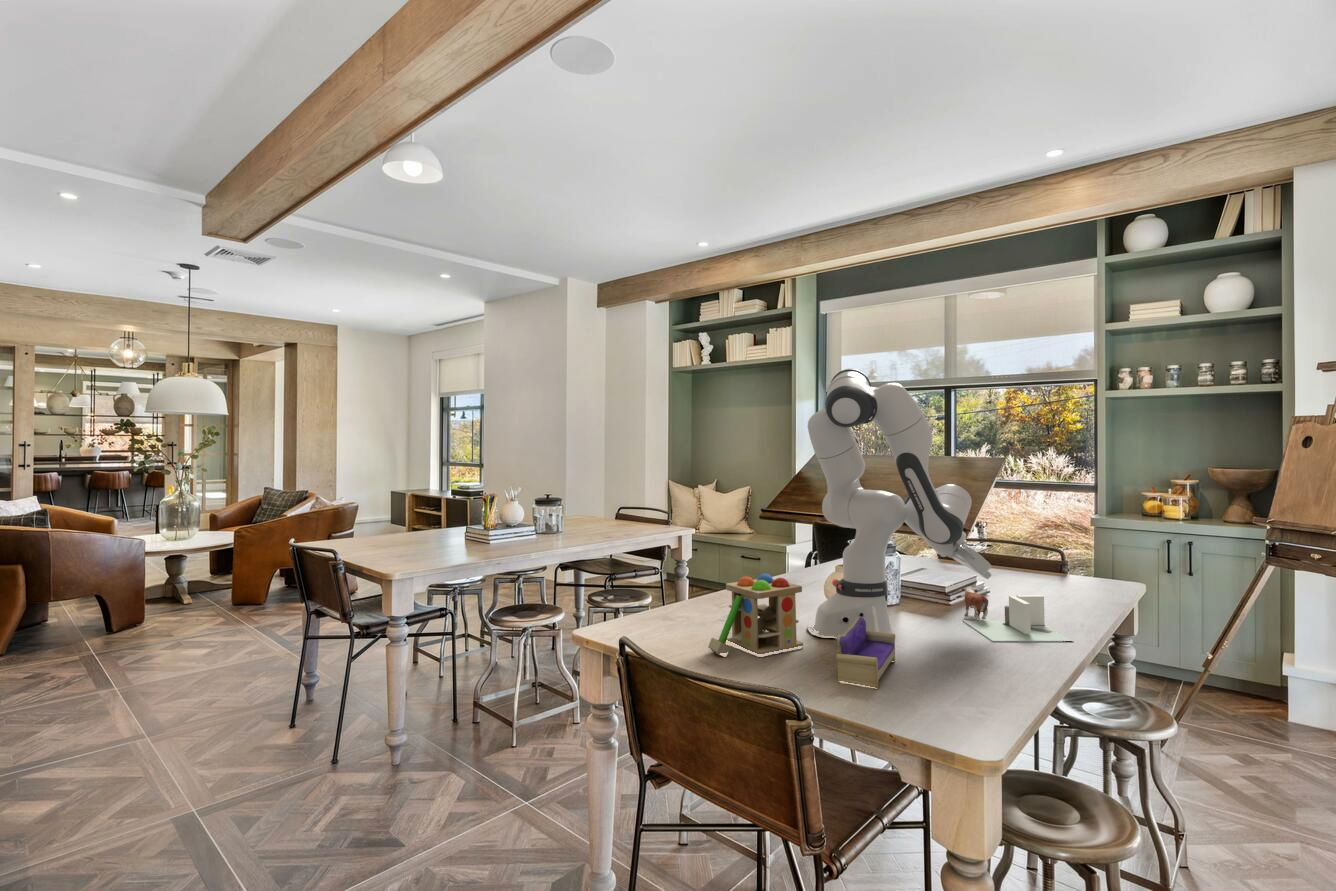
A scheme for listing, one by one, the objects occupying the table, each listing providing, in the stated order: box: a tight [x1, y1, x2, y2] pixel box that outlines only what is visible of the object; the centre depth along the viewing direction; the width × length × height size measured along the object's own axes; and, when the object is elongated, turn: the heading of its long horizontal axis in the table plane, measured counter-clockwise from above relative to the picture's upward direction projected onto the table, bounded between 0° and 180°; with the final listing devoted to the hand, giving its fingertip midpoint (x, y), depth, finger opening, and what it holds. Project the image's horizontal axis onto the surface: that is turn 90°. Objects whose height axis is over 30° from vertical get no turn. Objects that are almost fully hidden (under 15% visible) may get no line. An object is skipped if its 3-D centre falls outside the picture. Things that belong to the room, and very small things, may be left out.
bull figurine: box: [961, 586, 989, 621], centre depth 193 cm, size 4×13×8 cm, turn 174°
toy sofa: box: [835, 617, 896, 689], centre depth 148 cm, size 21×9×10 cm, turn 150°
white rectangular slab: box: [1008, 595, 1031, 634], centre depth 177 cm, size 9×2×8 cm, turn 176°
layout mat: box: [963, 620, 1074, 643], centre depth 178 cm, size 20×20×1 cm
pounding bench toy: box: [708, 573, 804, 655], centre depth 167 cm, size 23×14×18 cm, turn 121°
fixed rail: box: [1004, 594, 1046, 626], centre depth 183 cm, size 10×2×8 cm, turn 86°
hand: (987, 576), depth 177 cm, fingers closed
